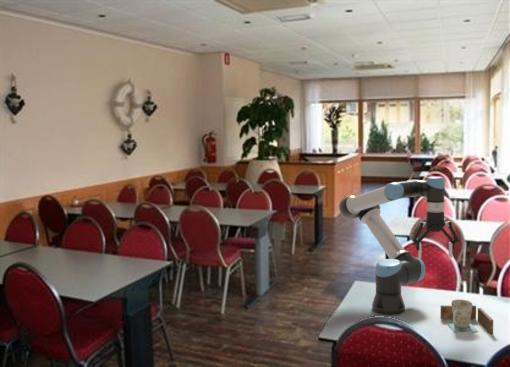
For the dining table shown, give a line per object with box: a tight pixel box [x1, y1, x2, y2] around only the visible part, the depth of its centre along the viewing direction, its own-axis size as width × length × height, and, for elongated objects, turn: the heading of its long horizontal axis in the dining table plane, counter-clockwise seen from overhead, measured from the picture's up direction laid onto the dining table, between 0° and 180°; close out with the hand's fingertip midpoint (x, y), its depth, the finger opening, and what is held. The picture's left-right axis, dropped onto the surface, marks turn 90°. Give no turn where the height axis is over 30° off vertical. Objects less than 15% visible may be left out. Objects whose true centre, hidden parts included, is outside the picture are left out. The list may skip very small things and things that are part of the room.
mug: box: [450, 299, 473, 328], centre depth 208 cm, size 8×13×10 cm, turn 137°
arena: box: [440, 304, 494, 335], centre depth 210 cm, size 16×17×6 cm
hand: (435, 257), depth 222 cm, fingers open, 13 cm apart
